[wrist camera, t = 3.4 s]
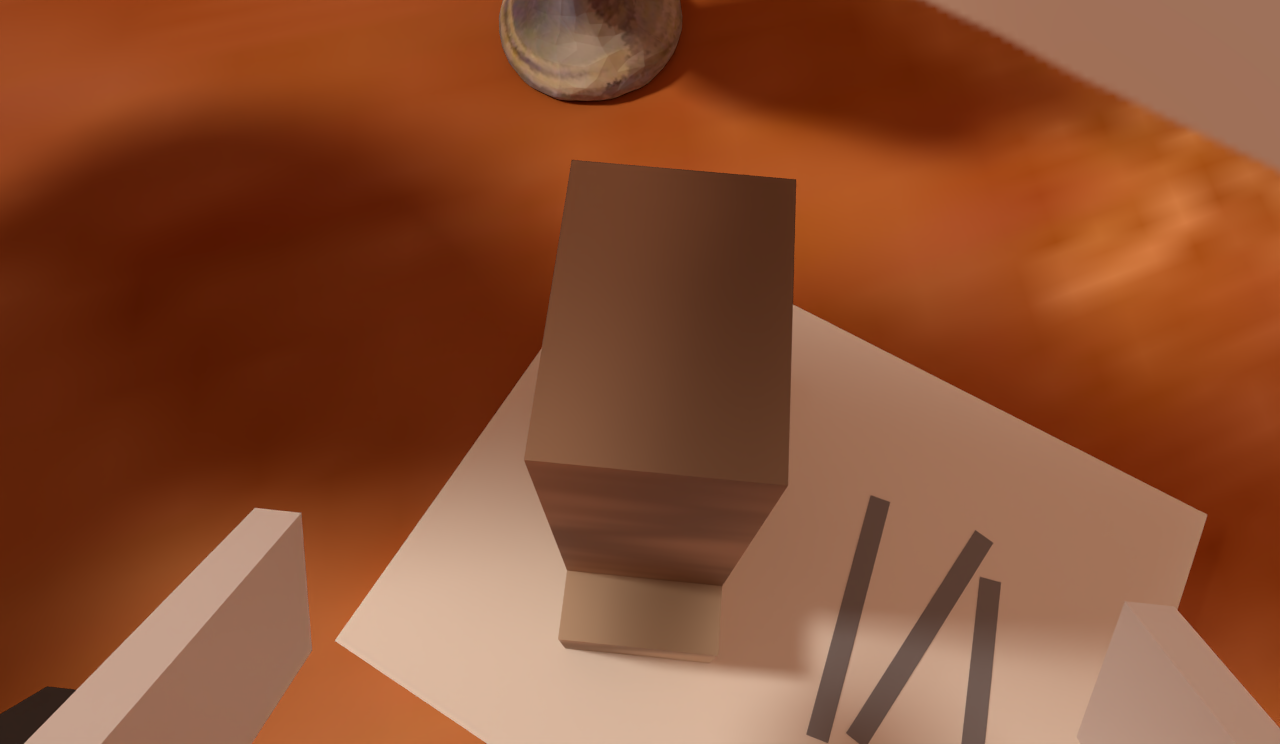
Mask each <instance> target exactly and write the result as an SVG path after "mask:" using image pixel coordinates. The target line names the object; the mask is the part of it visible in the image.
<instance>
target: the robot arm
mask: <svg viewBox="0 0 1280 744" xmlns="http://www.w3.org/2000/svg"><path fill="white" fill-rule="evenodd" d="M311 651H312V644H311V631H310V618H309V605H308V592H307V579H306V567H305V554H304V541H303V528H302V515H301V513H298V512H289V511H279V510H270V509H261V508H254V509H253V510H252V511H251V512H250V513H249V514H248V515H247V516H246V517H245V518H244V519H243V521H242V522H241V523H240V524H239V525H238V526H237V527H236V528H235V529H234V530H233V531H232V532H231V533H230V534H229V535H228V536H227V537H226V538H225V539H224V540H223V541H222V542H221V543H220V544H219V545H218V546H217V547H216V548H215V549H214V550H213V551H212V552H211V553H210V554H209V555H208V556H207V557H206V558H205V559H204V560H203V561H202V562H201V563H200V564H199V565H198V566H197V567H196V568H195V570H194V571H193V572H192V573H191V574H190V575H189V576H188V577H187V578H186V579H185V580H184V581H183V582H182V583H181V584H180V585H179V586H178V587H177V588H176V589H175V590H174V591H173V592H172V593H171V594H170V595H169V596H168V597H167V598H166V599H165V600H164V601H163V602H162V603H161V604H160V605H159V606H158V607H157V608H156V609H155V610H154V611H153V612H152V613H151V614H150V615H149V616H148V618H147V619H146V620H145V621H144V622H143V623H142V624H141V625H140V626H139V627H138V628H137V629H136V630H135V631H134V632H133V633H132V634H131V635H130V636H129V637H128V638H127V639H126V640H125V641H124V642H123V643H122V644H121V645H120V646H119V647H118V648H117V649H116V650H115V651H114V652H113V653H112V654H111V655H110V656H109V657H108V658H107V659H106V660H105V661H104V662H103V663H102V664H101V666H100V667H99V668H98V669H97V670H96V671H95V672H94V673H93V674H92V675H91V676H90V677H89V678H88V679H87V680H86V681H85V682H84V683H83V684H82V685H81V686H80V687H79V688H78V689H77V690H73V689H65V688H56V687H45V688H44V689H42V690H40V691H39V692H37V693H35V694H34V695H32V696H30V697H28V698H27V699H25V700H23V701H22V702H20V703H18V704H17V705H15V706H13V707H12V708H10V709H8V710H7V711H5V712H3V713H2V714H0V744H252V742H253V741H254V739H255V738H256V736H257V734H258V733H259V731H260V730H261V728H262V727H263V725H264V724H265V722H266V721H267V719H268V718H269V716H270V714H271V713H272V711H273V710H274V708H275V707H276V705H277V704H278V702H279V701H280V699H281V697H282V696H283V694H284V693H285V691H286V690H287V688H288V687H289V685H290V684H291V682H292V681H293V679H294V677H295V676H296V674H297V673H298V671H299V670H300V668H301V667H302V665H303V664H304V662H305V660H306V659H307V657H308V656H309V654H310V653H311ZM1077 738H1078V740H1079V742H1080V744H1280V728H1279V727H1278V726H1277V725H1276V723H1275V722H1274V721H1273V720H1272V719H1271V718H1270V717H1269V715H1268V714H1267V713H1266V712H1265V711H1264V710H1263V708H1262V707H1261V706H1260V705H1259V704H1258V703H1257V701H1256V700H1255V699H1254V698H1253V697H1252V696H1251V695H1250V693H1249V692H1248V691H1247V690H1246V689H1245V688H1244V686H1243V685H1242V684H1241V683H1240V682H1239V681H1238V679H1237V678H1236V677H1235V676H1234V675H1233V674H1232V673H1231V671H1230V670H1229V669H1228V668H1227V667H1226V666H1225V664H1224V663H1223V662H1222V661H1221V660H1220V659H1219V658H1218V656H1217V655H1216V654H1215V653H1214V652H1213V651H1212V649H1211V648H1210V647H1209V646H1208V645H1207V644H1206V642H1205V641H1204V640H1203V639H1202V638H1201V637H1200V636H1199V634H1198V633H1197V632H1196V631H1195V630H1194V629H1193V627H1192V626H1191V625H1190V624H1189V623H1188V622H1187V620H1186V619H1185V618H1184V617H1183V616H1182V615H1181V614H1180V612H1179V611H1178V610H1177V609H1176V608H1175V607H1174V606H1164V605H1155V604H1146V603H1136V602H1127V601H1125V602H1124V605H1123V608H1122V610H1121V613H1120V616H1119V619H1118V622H1117V624H1116V627H1115V630H1114V633H1113V636H1112V639H1111V641H1110V644H1109V647H1108V650H1107V653H1106V655H1105V658H1104V661H1103V664H1102V667H1101V669H1100V672H1099V675H1098V678H1097V681H1096V683H1095V686H1094V689H1093V692H1092V695H1091V697H1090V700H1089V703H1088V706H1087V709H1086V711H1085V714H1084V717H1083V720H1082V723H1081V725H1080V728H1079V731H1078V734H1077Z"/></svg>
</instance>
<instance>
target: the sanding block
mask: <svg viewBox="0 0 1280 744" xmlns="http://www.w3.org/2000/svg"><path fill="white" fill-rule="evenodd" d="M795 205H796V179H785V178H773V177H762V176H750V175H739V174H727V173H716V172H704V171H693V170H682V169H670V168H659V167H647V166H636V165H624V164H613V163H601V162H590V161H578V160H572V162H571V168H570V174H569V181H568V187H567V193H566V199H565V206H564V212H563V218H562V224H561V231H560V237H559V243H558V249H557V256H556V262H555V268H554V274H553V281H552V287H551V293H550V299H549V306H548V312H547V318H546V325H545V331H544V337H543V343H542V350H541V356H540V362H539V368H538V375H537V381H536V387H535V393H534V400H533V406H532V412H531V418H530V425H529V431H528V437H527V443H526V450H525V456H524V461H525V464H526V467H527V469H528V472H529V474H530V477H531V479H532V482H533V485H534V487H535V490H536V492H537V495H538V497H539V500H540V502H541V505H542V508H543V510H544V513H545V515H546V518H547V520H548V523H549V526H550V528H551V531H552V533H553V536H554V538H555V541H556V543H557V546H558V549H559V551H560V554H561V556H562V559H563V561H564V564H565V567H566V569H567V574H566V582H565V590H564V597H563V605H562V613H561V620H560V628H559V636H558V640H559V641H560V642H561V644H562V645H563V646H564V647H565V648H567V649H577V650H587V651H596V652H606V653H616V654H625V655H635V656H645V657H654V658H664V659H674V660H683V661H693V662H703V663H710V662H711V661H713V660H714V659H715V658H716V657H717V656H718V652H719V634H720V617H721V599H722V586H723V584H724V583H725V581H726V580H727V578H728V577H729V575H730V573H731V572H732V570H733V569H734V567H735V566H736V564H737V563H738V561H739V560H740V558H741V557H742V555H743V554H744V552H745V551H746V549H747V548H748V546H749V544H750V543H751V541H752V540H753V538H754V537H755V535H756V534H757V532H758V531H759V529H760V528H761V526H762V525H763V523H764V522H765V520H766V519H767V517H768V516H769V514H770V512H771V511H772V509H773V508H774V506H775V505H776V503H777V502H778V500H779V499H780V497H781V496H782V494H783V493H784V491H785V490H786V488H787V487H788V471H789V433H790V395H791V357H792V319H793V281H794V243H795Z"/></svg>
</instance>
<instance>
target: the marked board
mask: <svg viewBox="0 0 1280 744" xmlns="http://www.w3.org/2000/svg"><path fill="white" fill-rule="evenodd" d="M541 350H542V348H541ZM541 350H540V351H539V353H538V354H537V355H536V357H535V358H534V360H533V361H532V363H531V364H530V365H529V367H528V368H527V370H526V371H525V372H524V374H523V375H522V377H521V378H520V380H519V381H518V382H517V384H516V385H515V387H514V388H513V389H512V391H511V392H510V394H509V395H508V396H507V398H506V399H505V401H504V402H503V404H502V405H501V406H500V408H499V409H498V411H497V412H496V413H495V415H494V416H493V418H492V419H491V421H490V422H489V423H488V425H487V426H486V428H485V429H484V430H483V432H482V433H481V435H480V436H479V438H478V439H477V440H476V442H475V443H474V445H473V446H472V447H471V449H470V450H469V452H468V453H467V454H466V456H465V457H464V459H463V460H462V462H461V463H460V464H459V466H458V467H457V469H456V470H455V471H454V473H453V474H452V476H451V477H450V479H449V480H448V481H447V483H446V484H445V486H444V487H443V488H442V490H441V491H440V493H439V494H438V496H437V497H436V498H435V500H434V501H433V503H432V504H431V505H430V507H429V508H428V510H427V511H426V512H425V514H424V515H423V517H422V518H421V520H420V521H419V522H418V524H417V525H416V527H415V528H414V529H413V531H412V532H411V534H410V535H409V537H408V538H407V539H406V541H405V542H404V544H403V545H402V546H401V548H400V549H399V551H398V552H397V554H396V555H395V556H394V558H393V559H392V561H391V562H390V563H389V565H388V566H387V568H386V569H385V570H384V572H383V573H382V575H381V576H380V578H379V579H378V580H377V582H376V583H375V585H374V586H373V587H372V589H371V590H370V592H369V593H368V595H367V596H366V597H365V599H364V600H363V602H362V603H361V604H360V606H359V607H358V609H357V610H356V612H355V613H354V614H353V616H352V617H351V619H350V620H349V621H348V623H347V624H346V626H345V627H344V628H343V630H342V631H341V633H340V634H339V636H338V637H337V638H336V640H335V641H336V642H337V643H339V644H340V645H342V646H343V647H345V648H346V649H348V650H349V651H351V652H352V653H354V654H355V655H357V656H358V657H360V658H361V659H363V660H364V661H366V662H367V663H369V664H370V665H372V666H373V667H374V668H376V669H377V670H379V671H380V672H382V673H383V674H385V675H386V676H388V677H389V678H391V679H392V680H394V681H395V682H397V683H398V684H400V685H401V686H403V687H404V688H406V689H407V690H409V691H410V692H412V693H413V694H414V695H416V696H417V697H419V698H420V699H422V700H423V701H425V702H426V703H428V704H429V705H431V706H432V707H434V708H435V709H437V710H438V711H440V712H441V713H443V714H444V715H446V716H447V717H449V718H450V719H452V720H453V721H454V722H456V723H457V724H459V725H460V726H462V727H463V728H465V729H466V730H468V731H469V732H471V733H472V734H474V735H475V736H477V737H478V738H480V739H481V740H483V741H484V742H486V743H487V744H1080V742H1079V740H1078V738H1077V734H1078V731H1079V728H1080V725H1081V723H1082V720H1083V717H1084V714H1085V711H1086V709H1087V706H1088V703H1089V700H1090V697H1091V695H1092V692H1093V689H1094V686H1095V683H1096V681H1097V678H1098V675H1099V672H1100V669H1101V667H1102V664H1103V661H1104V658H1105V655H1106V653H1107V650H1108V647H1109V644H1110V641H1111V639H1112V636H1113V633H1114V630H1115V627H1116V624H1117V622H1118V619H1119V616H1120V613H1121V610H1122V608H1123V605H1124V602H1125V601H1127V602H1136V603H1146V604H1155V605H1164V606H1174V607H1175V608H1176V609H1177V610H1178V606H1179V603H1180V600H1181V597H1182V594H1183V591H1184V588H1185V584H1186V581H1187V578H1188V575H1189V572H1190V569H1191V565H1192V562H1193V559H1194V556H1195V553H1196V550H1197V546H1198V543H1199V540H1200V537H1201V534H1202V531H1203V528H1204V524H1205V521H1206V518H1207V514H1205V513H1203V512H1201V511H1199V510H1197V509H1195V508H1193V507H1191V506H1189V505H1187V504H1185V503H1183V502H1181V501H1180V500H1178V499H1176V498H1174V497H1172V496H1170V495H1168V494H1166V493H1164V492H1162V491H1160V490H1158V489H1156V488H1154V487H1152V486H1150V485H1148V484H1146V483H1144V482H1142V481H1140V480H1138V479H1136V478H1134V477H1132V476H1130V475H1128V474H1126V473H1124V472H1122V471H1120V470H1118V469H1116V468H1114V467H1113V466H1111V465H1109V464H1107V463H1105V462H1103V461H1101V460H1099V459H1097V458H1095V457H1093V456H1091V455H1089V454H1087V453H1085V452H1083V451H1081V450H1079V449H1077V448H1075V447H1073V446H1071V445H1069V444H1067V443H1065V442H1063V441H1061V440H1059V439H1057V438H1055V437H1053V436H1051V435H1049V434H1047V433H1045V432H1044V431H1042V430H1040V429H1038V428H1036V427H1034V426H1032V425H1030V424H1028V423H1026V422H1024V421H1022V420H1020V419H1018V418H1016V417H1014V416H1012V415H1010V414H1008V413H1006V412H1004V411H1002V410H1000V409H998V408H996V407H994V406H992V405H990V404H988V403H986V402H984V401H982V400H980V399H978V398H977V397H975V396H973V395H971V394H969V393H967V392H965V391H963V390H961V389H959V388H957V387H955V386H953V385H951V384H949V383H947V382H945V381H943V380H941V379H939V378H937V377H935V376H933V375H931V374H929V373H927V372H925V371H923V370H921V369H919V368H917V367H915V366H913V365H911V364H909V363H908V362H906V361H904V360H902V359H900V358H898V357H896V356H894V355H892V354H890V353H888V352H886V351H884V350H882V349H880V348H878V347H876V346H874V345H872V344H870V343H868V342H866V341H864V340H862V339H860V338H858V337H856V336H854V335H852V334H850V333H848V332H846V331H844V330H842V329H841V328H839V327H837V326H835V325H833V324H831V323H829V322H827V321H825V320H823V319H821V318H819V317H817V316H815V315H813V314H811V313H809V312H807V311H805V310H803V309H801V308H799V307H797V306H795V305H793V319H792V357H791V395H790V433H789V471H788V487H787V488H786V490H785V491H784V493H783V494H782V496H781V497H780V499H779V500H778V502H777V503H776V505H775V506H774V508H773V509H772V511H771V512H770V514H769V516H768V517H767V519H766V520H765V522H764V523H763V525H762V526H761V528H760V529H759V531H758V532H757V534H756V535H755V537H754V538H753V540H752V541H751V543H750V544H749V546H748V548H747V549H746V551H745V552H744V554H743V555H742V557H741V558H740V560H739V561H738V563H737V564H736V566H735V567H734V569H733V570H732V572H731V573H730V575H729V577H728V578H727V580H726V581H725V583H724V584H723V586H722V599H721V617H720V634H719V652H718V656H717V657H716V658H715V659H714V660H713V661H711V662H710V663H703V662H693V661H683V660H674V659H664V658H654V657H645V656H635V655H625V654H616V653H606V652H596V651H587V650H577V649H567V648H565V647H564V646H563V645H562V644H561V642H560V641H559V640H558V636H559V628H560V620H561V613H562V605H563V597H564V590H565V582H566V574H567V569H566V567H565V564H564V561H563V559H562V556H561V554H560V551H559V549H558V546H557V543H556V541H555V538H554V536H553V533H552V531H551V528H550V526H549V523H548V520H547V518H546V515H545V513H544V510H543V508H542V505H541V502H540V500H539V497H538V495H537V492H536V490H535V487H534V485H533V482H532V479H531V477H530V474H529V472H528V469H527V467H526V464H525V461H524V456H525V450H526V443H527V437H528V431H529V425H530V418H531V412H532V406H533V400H534V393H535V387H536V381H537V375H538V368H539V362H540V356H541Z"/></svg>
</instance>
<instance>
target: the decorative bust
mask: <svg viewBox="0 0 1280 744" xmlns="http://www.w3.org/2000/svg"><path fill="white" fill-rule="evenodd" d="M681 30H682V10H681V2H680V0H503V2H502V6H501V10H500V15H499V33H500V38H501V42H502V47H503V50H504V52H505V54H506V56H507V59H508V61H509V63H510V64H511V66H512V67H513V68H514V69H515V71H516V72H517V73H518V74H519V76H520V77H521V78H522V79H523V80H524V82H526V83H527V84H528V85H530V86H531V87H532V88H534V89H536V90H538V91H540V92H542V93H545V94H547V95H549V96H551V97H553V98H556V99H559V100H570V101H571V100H581V101H592V100H606V99H612V98H616V97H619V96H621V95H623V94H625V93H628V92H631V91H633V90H636V89H639V88H641V87H643V86H645V85H646V84H648V83H649V82H650V81H651V80H652V79H653V78H654V77H655V76H656V75H657V74H658V73H659V72H660V71H661V70H662V69H663V68H664V66H665V65H666V63H667V62H668V61H669V59H670V58H671V56H672V55H673V53H674V51H675V49H676V46H677V44H678V41H679V37H680V34H681Z"/></svg>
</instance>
